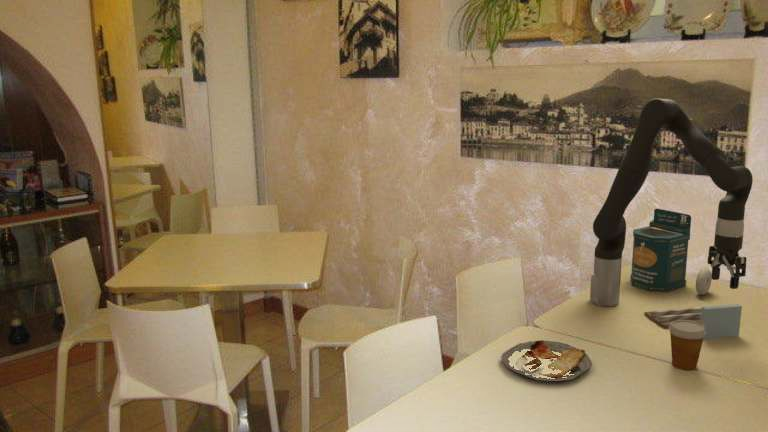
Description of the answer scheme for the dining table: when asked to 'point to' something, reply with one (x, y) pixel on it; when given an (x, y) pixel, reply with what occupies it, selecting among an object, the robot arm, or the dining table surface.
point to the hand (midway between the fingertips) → (724, 283)
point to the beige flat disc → (703, 281)
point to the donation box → (661, 252)
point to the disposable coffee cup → (686, 343)
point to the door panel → (721, 321)
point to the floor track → (674, 316)
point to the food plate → (566, 362)
